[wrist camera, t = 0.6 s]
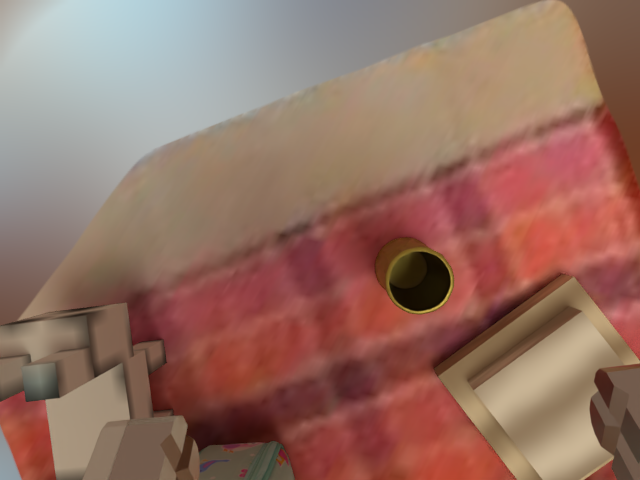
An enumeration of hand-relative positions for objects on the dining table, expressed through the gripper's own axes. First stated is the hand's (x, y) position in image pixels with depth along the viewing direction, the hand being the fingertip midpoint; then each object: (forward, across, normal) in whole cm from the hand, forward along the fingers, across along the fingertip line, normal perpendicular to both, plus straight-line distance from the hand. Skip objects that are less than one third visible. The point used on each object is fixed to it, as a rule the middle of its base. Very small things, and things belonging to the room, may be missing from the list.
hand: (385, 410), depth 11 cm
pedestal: (+30, +16, -37) cm, 50 cm away
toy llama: (+33, -26, -33) cm, 54 cm away
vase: (+38, +4, -26) cm, 46 cm away
